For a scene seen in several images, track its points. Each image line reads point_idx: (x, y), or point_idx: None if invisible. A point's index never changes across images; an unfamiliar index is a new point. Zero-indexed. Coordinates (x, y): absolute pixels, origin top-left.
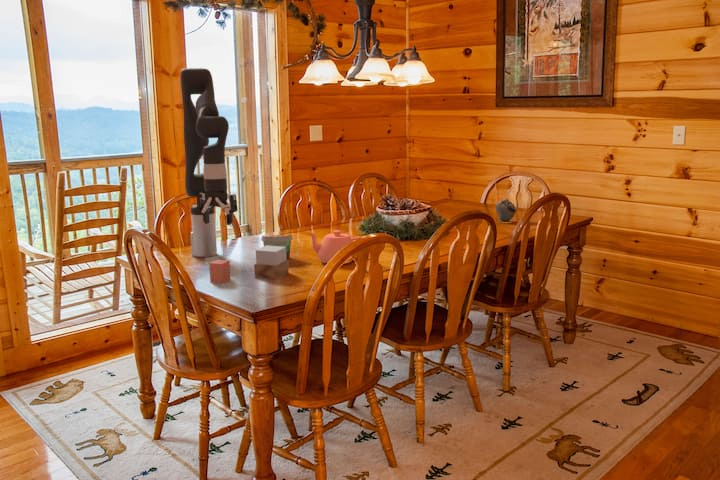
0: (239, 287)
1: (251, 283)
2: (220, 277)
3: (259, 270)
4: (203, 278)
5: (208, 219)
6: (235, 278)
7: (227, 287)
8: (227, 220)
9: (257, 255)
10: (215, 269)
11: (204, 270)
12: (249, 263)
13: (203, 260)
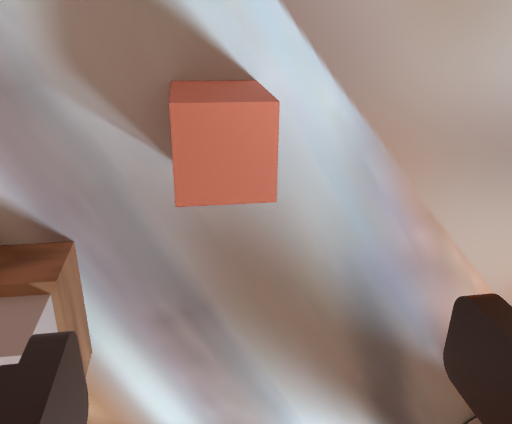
0: (22, 34)
1: (10, 134)
2: (188, 87)
3: (29, 265)
4: (333, 137)
5: (479, 389)
6: (164, 192)
7: (95, 11)
8: (21, 389)
9: (21, 331)
10: (225, 94)
11: (394, 260)
12: (245, 415)
13: None
